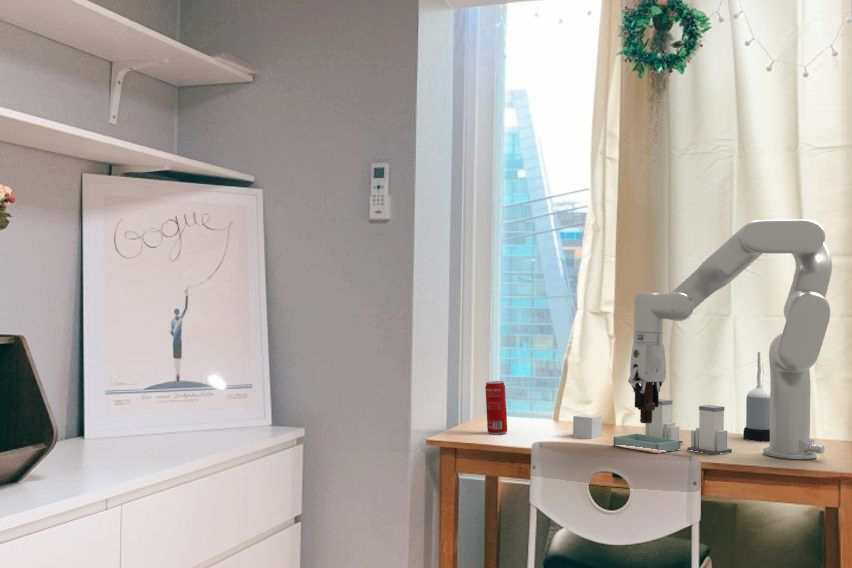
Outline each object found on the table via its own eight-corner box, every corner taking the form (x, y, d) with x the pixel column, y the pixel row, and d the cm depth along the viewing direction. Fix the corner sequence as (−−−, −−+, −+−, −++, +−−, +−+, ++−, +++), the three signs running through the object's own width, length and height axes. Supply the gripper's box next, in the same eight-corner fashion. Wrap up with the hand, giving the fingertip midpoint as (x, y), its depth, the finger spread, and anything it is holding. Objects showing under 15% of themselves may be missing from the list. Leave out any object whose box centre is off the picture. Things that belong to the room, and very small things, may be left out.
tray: (680, 450, 230) (680, 440, 230) (657, 454, 223) (657, 444, 223) (636, 442, 240) (636, 433, 240) (613, 446, 234) (613, 436, 234)
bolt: (656, 425, 229) (657, 367, 229) (636, 423, 230) (637, 367, 230) (655, 421, 234) (656, 366, 235) (635, 421, 235) (637, 365, 236)
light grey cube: (601, 436, 251) (602, 415, 251) (591, 439, 246) (592, 418, 246) (583, 434, 254) (583, 413, 254) (572, 436, 250) (573, 415, 250)
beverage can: (510, 434, 252) (511, 382, 252) (490, 435, 250) (491, 382, 250) (501, 431, 257) (502, 380, 258) (481, 432, 255) (482, 380, 255)
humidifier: (760, 436, 255) (761, 350, 256) (780, 440, 247) (780, 352, 248) (737, 437, 253) (738, 351, 253) (756, 442, 245) (757, 352, 245)
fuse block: (731, 452, 228) (732, 406, 228) (714, 455, 223) (714, 408, 223) (658, 439, 246) (658, 398, 246) (640, 442, 241) (640, 399, 241)
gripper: (639, 340, 224) (638, 411, 224) (678, 339, 235) (677, 407, 234) (616, 338, 230) (614, 407, 230) (655, 337, 240) (654, 403, 240)
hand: (646, 406), depth 232 cm, fingers closed on bolt, 4 cm apart
